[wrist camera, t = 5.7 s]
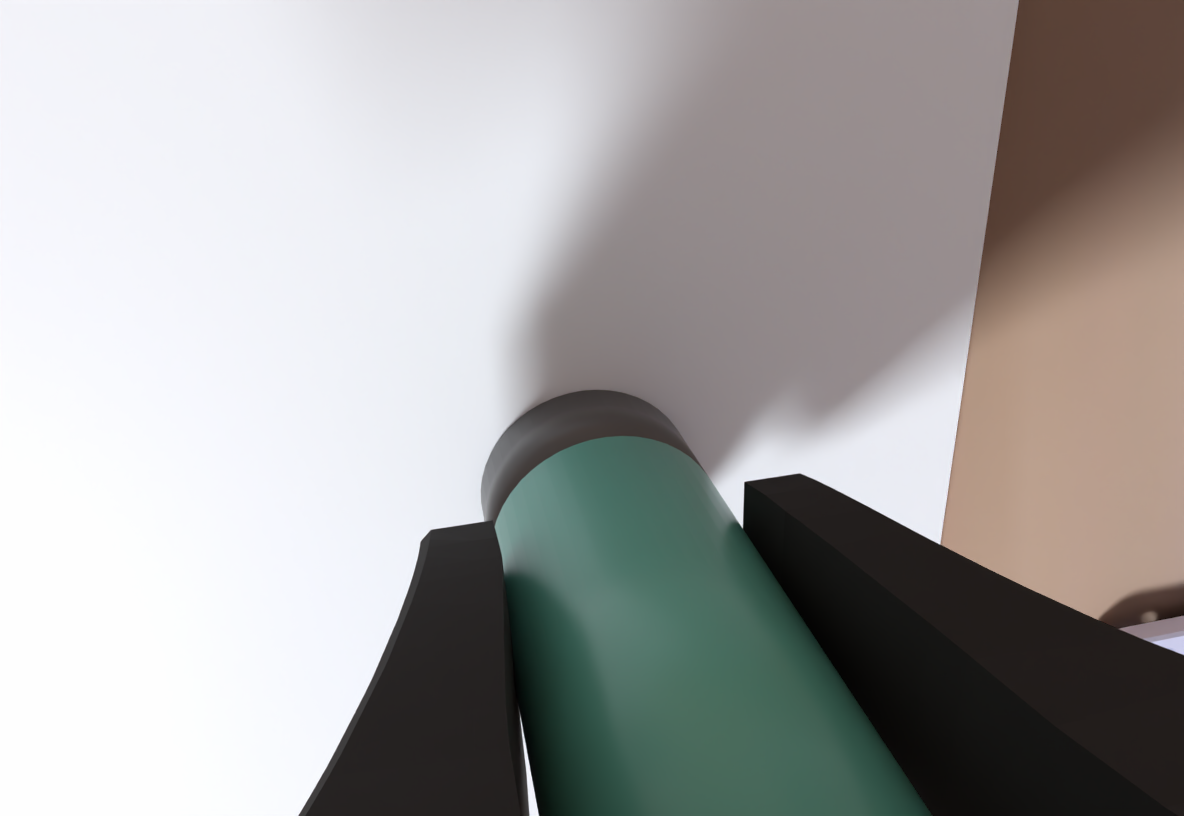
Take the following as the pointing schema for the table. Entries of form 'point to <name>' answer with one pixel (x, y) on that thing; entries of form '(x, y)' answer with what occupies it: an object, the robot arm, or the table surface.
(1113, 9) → the table surface
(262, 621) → the notepad
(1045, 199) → the table surface
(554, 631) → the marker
